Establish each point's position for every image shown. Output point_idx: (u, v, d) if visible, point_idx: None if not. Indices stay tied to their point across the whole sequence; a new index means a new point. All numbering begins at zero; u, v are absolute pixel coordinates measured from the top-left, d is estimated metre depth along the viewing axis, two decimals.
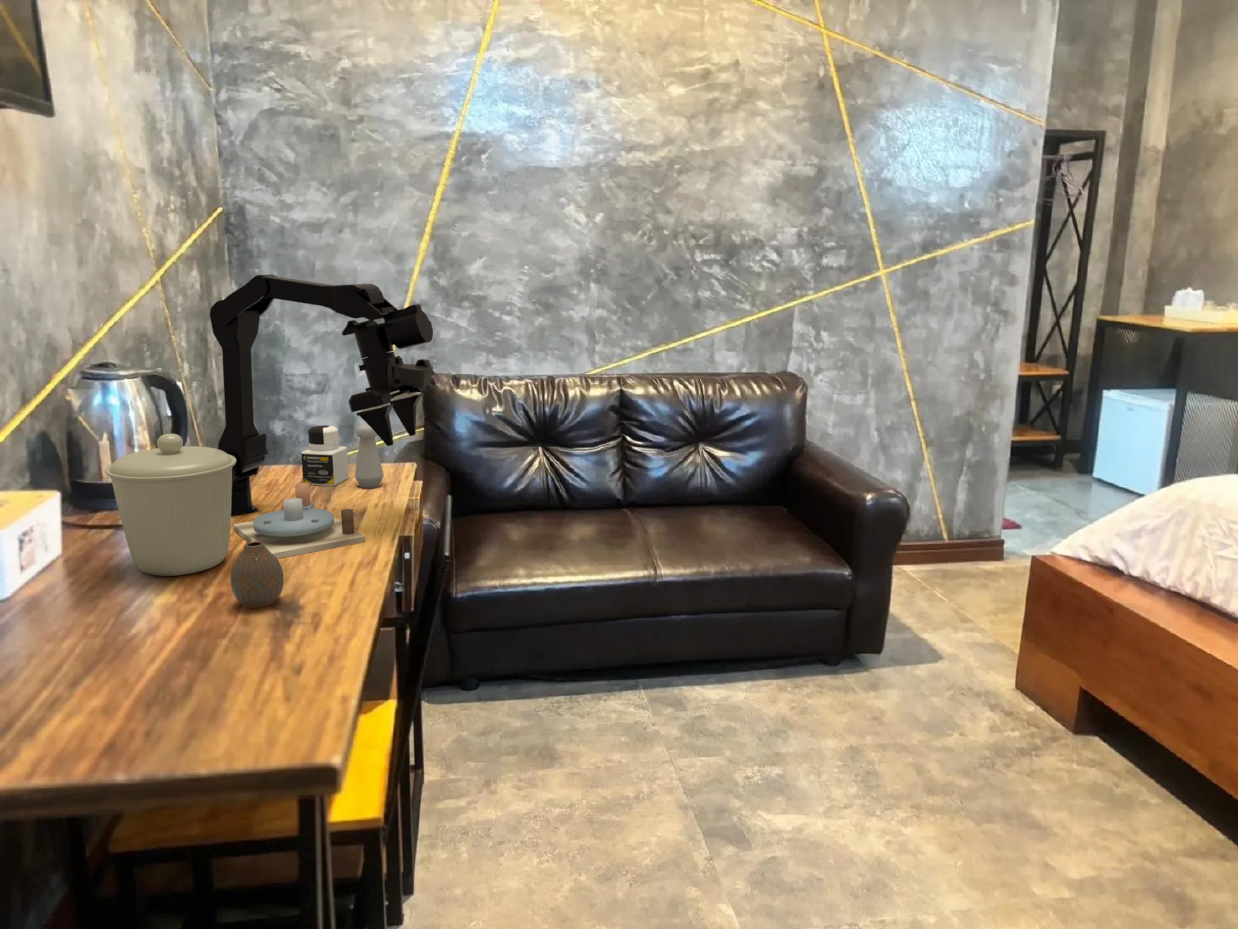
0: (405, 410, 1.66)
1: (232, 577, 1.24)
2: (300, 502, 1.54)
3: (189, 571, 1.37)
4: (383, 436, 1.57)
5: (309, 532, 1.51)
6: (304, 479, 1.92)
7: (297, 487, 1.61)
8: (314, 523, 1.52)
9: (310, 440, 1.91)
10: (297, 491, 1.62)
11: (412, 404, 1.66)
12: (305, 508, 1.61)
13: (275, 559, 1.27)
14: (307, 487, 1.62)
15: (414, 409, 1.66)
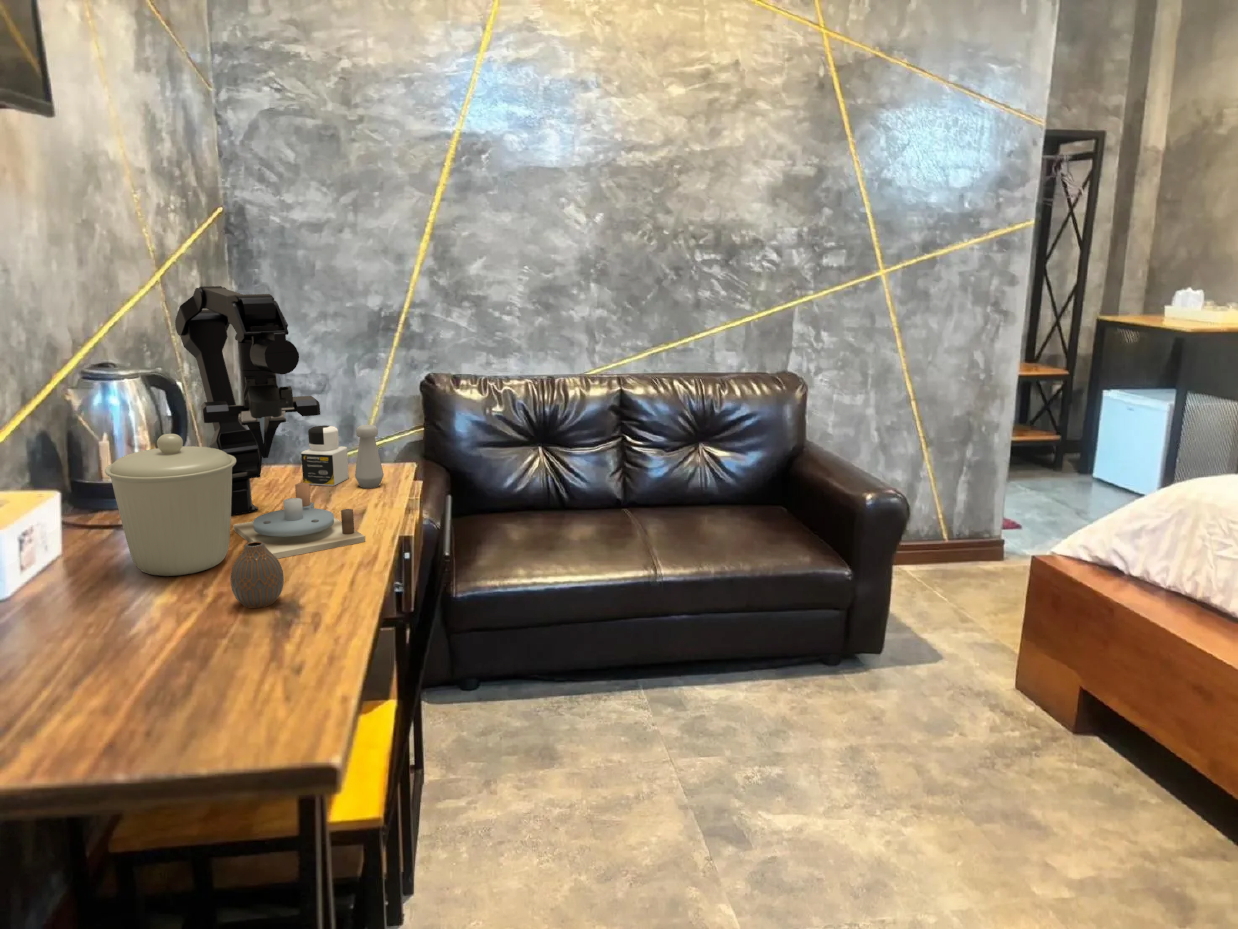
0: (265, 430, 1.58)
1: (232, 577, 1.24)
2: (300, 502, 1.54)
3: (189, 571, 1.37)
4: (258, 447, 1.58)
5: (309, 532, 1.51)
6: (304, 479, 1.92)
7: (297, 487, 1.61)
8: (314, 523, 1.52)
9: (310, 440, 1.91)
10: (297, 491, 1.62)
11: (267, 427, 1.56)
12: (305, 508, 1.61)
13: (275, 559, 1.27)
14: (307, 487, 1.62)
15: (270, 432, 1.57)
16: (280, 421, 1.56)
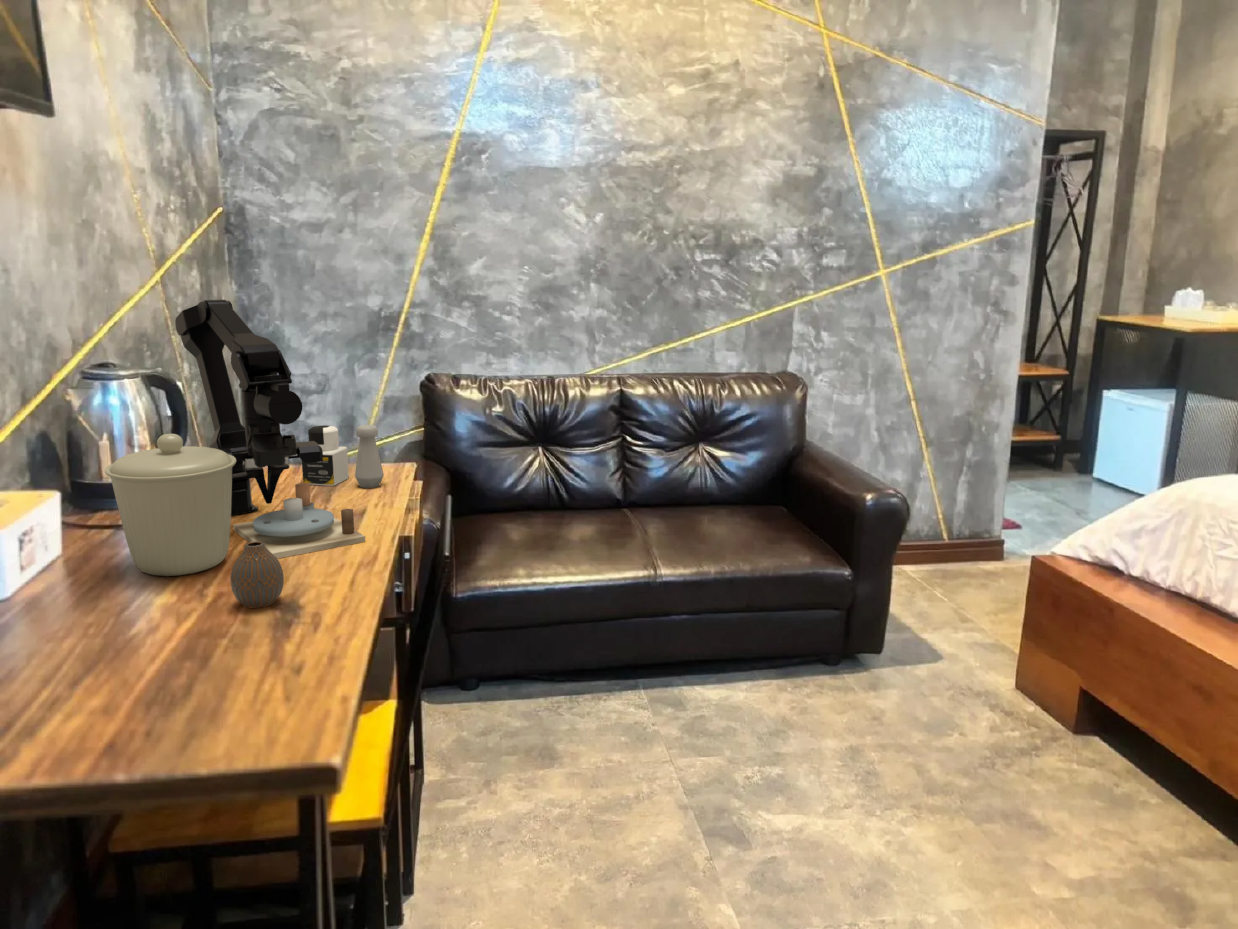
0: (269, 476, 1.60)
1: (232, 577, 1.24)
2: (300, 502, 1.54)
3: (189, 571, 1.37)
4: None
5: (309, 532, 1.51)
6: (304, 479, 1.92)
7: (297, 487, 1.61)
8: (314, 523, 1.52)
9: (310, 440, 1.91)
10: (297, 491, 1.62)
11: (270, 474, 1.58)
12: (305, 508, 1.61)
13: (275, 559, 1.27)
14: (307, 487, 1.62)
15: (273, 479, 1.59)
16: (283, 468, 1.58)
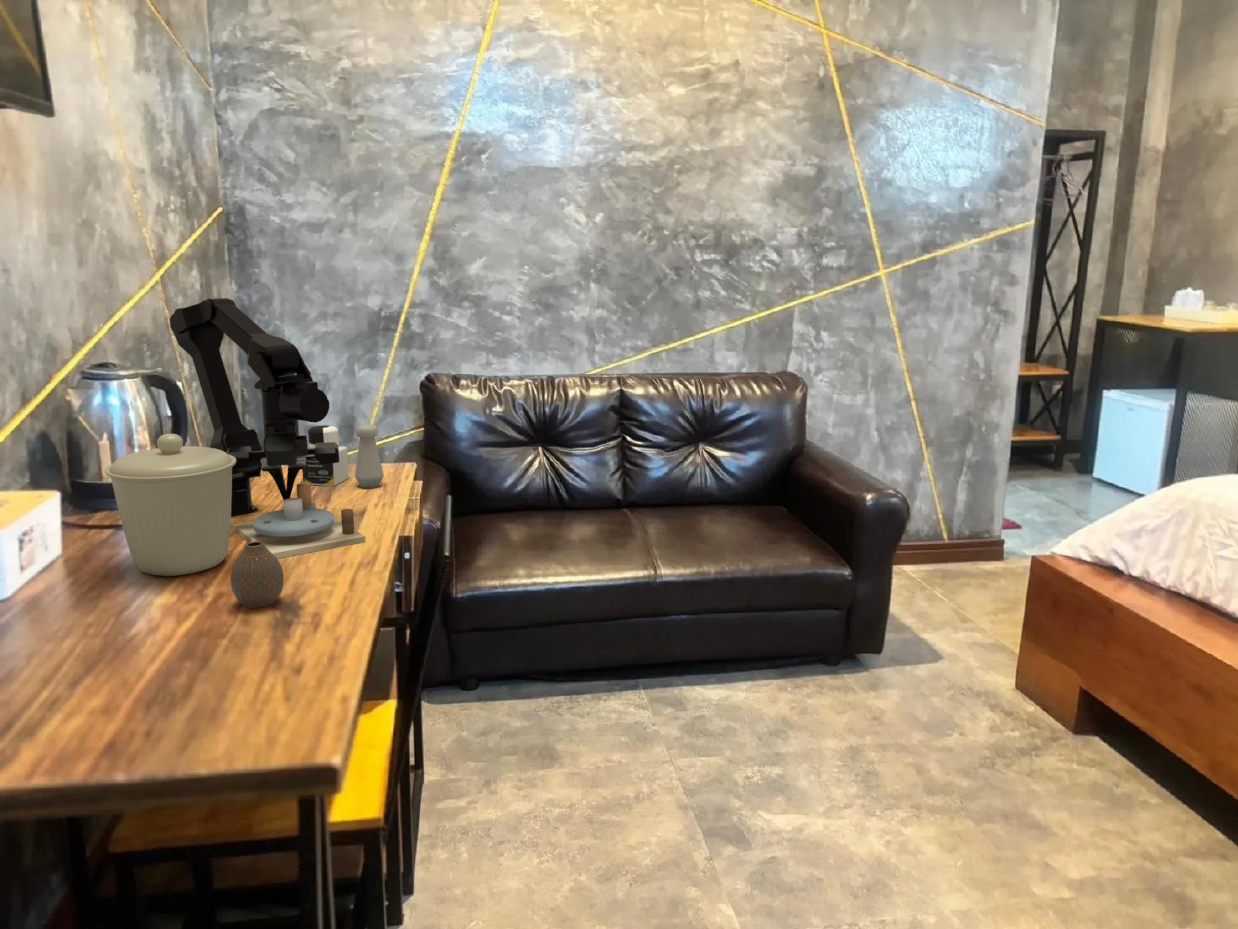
0: None
1: (232, 577, 1.24)
2: (300, 502, 1.54)
3: (189, 571, 1.37)
4: None
5: (308, 532, 1.50)
6: (304, 479, 1.92)
7: (298, 487, 1.61)
8: (313, 523, 1.52)
9: (310, 440, 1.91)
10: (298, 491, 1.62)
11: (287, 473, 1.59)
12: (306, 508, 1.61)
13: (275, 559, 1.27)
14: (308, 487, 1.62)
15: (290, 478, 1.60)
16: (299, 468, 1.58)
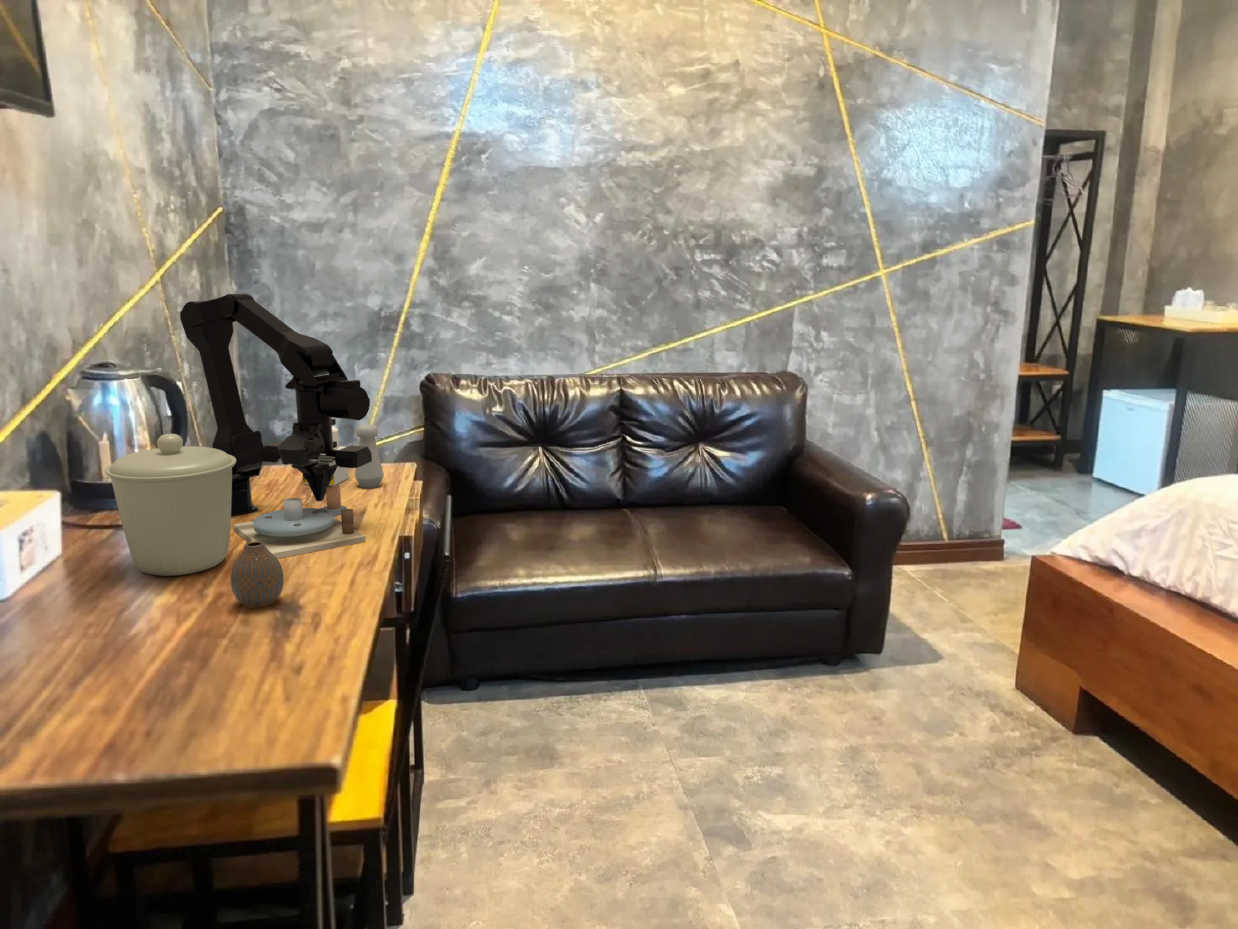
0: None
1: (232, 577, 1.24)
2: (295, 503, 1.53)
3: (189, 571, 1.37)
4: None
5: (279, 535, 1.49)
6: (304, 479, 1.92)
7: (326, 488, 1.61)
8: (291, 527, 1.50)
9: None
10: (326, 492, 1.61)
11: (315, 473, 1.60)
12: (325, 511, 1.60)
13: (275, 559, 1.27)
14: (333, 490, 1.60)
15: (318, 478, 1.60)
16: (321, 469, 1.58)
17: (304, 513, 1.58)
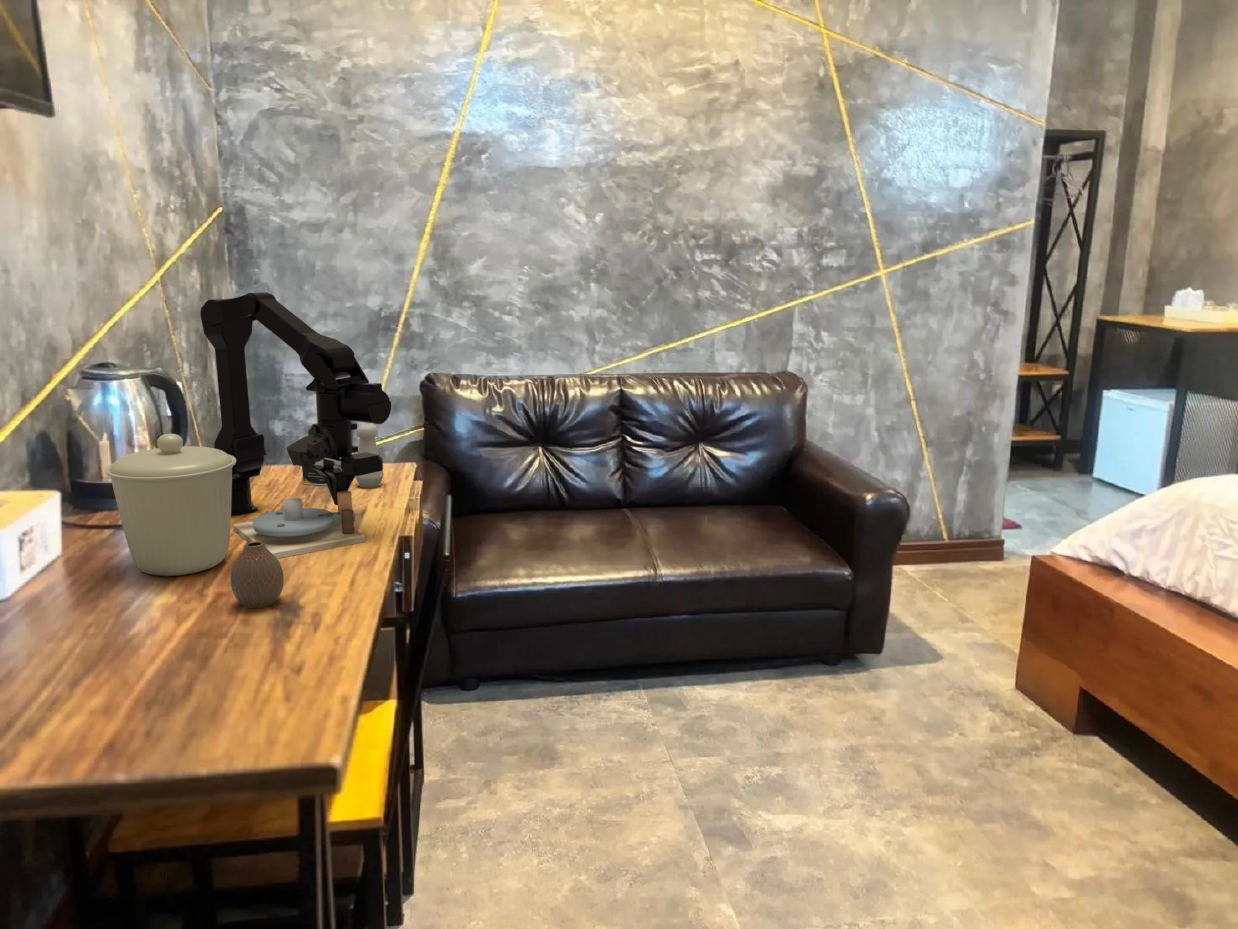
0: None
1: (232, 577, 1.24)
2: (289, 504, 1.53)
3: (189, 571, 1.37)
4: None
5: (260, 532, 1.50)
6: (304, 479, 1.92)
7: None
8: (272, 526, 1.50)
9: None
10: None
11: (331, 476, 1.58)
12: (331, 516, 1.57)
13: (275, 559, 1.27)
14: (341, 496, 1.56)
15: (333, 482, 1.58)
16: (331, 473, 1.55)
17: (311, 515, 1.57)
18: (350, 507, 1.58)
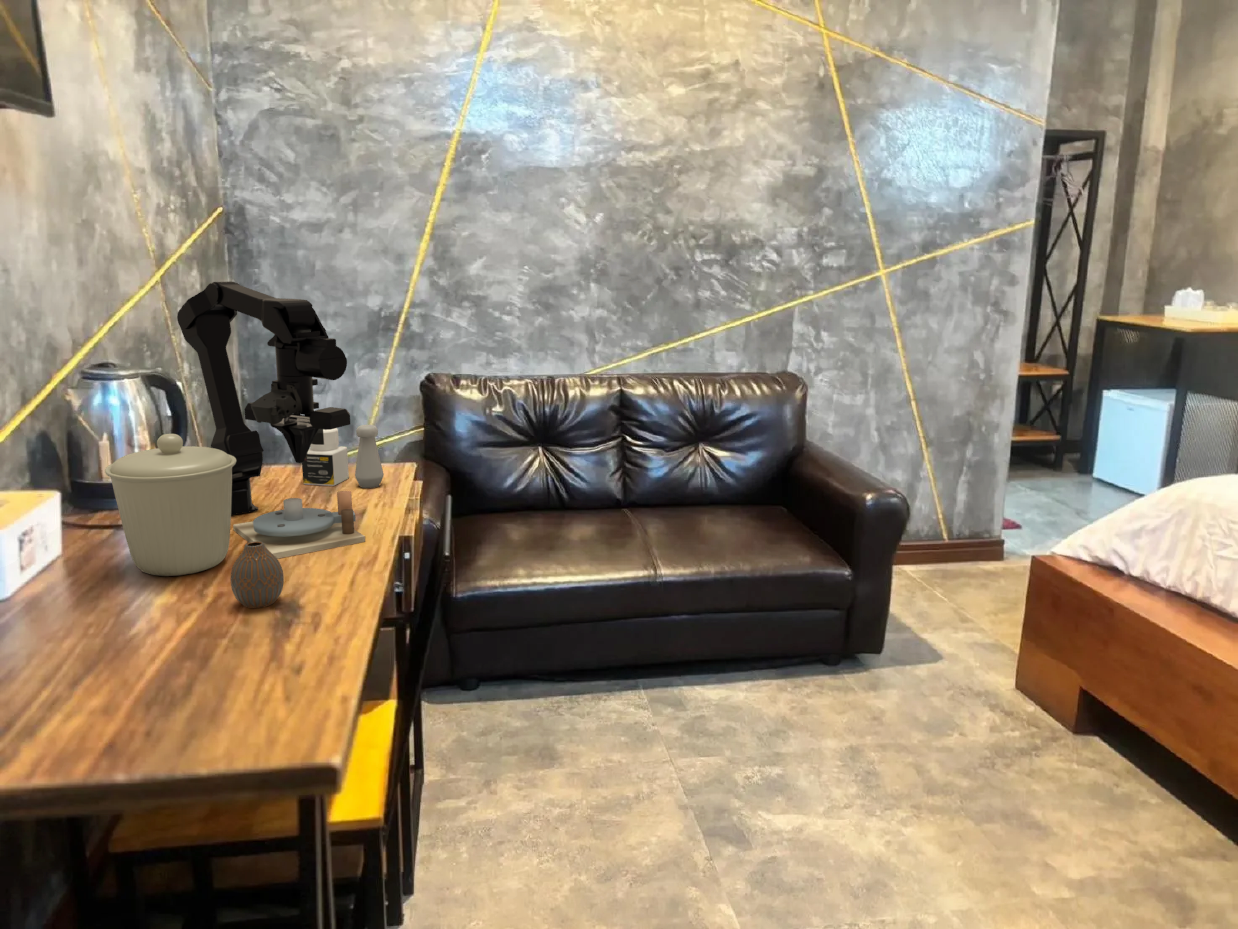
0: None
1: (232, 577, 1.24)
2: (289, 504, 1.53)
3: (189, 571, 1.37)
4: None
5: (260, 532, 1.50)
6: (304, 479, 1.92)
7: None
8: (273, 526, 1.50)
9: None
10: None
11: (294, 433, 1.56)
12: (331, 515, 1.57)
13: (275, 559, 1.27)
14: (341, 496, 1.56)
15: (297, 439, 1.56)
16: (297, 429, 1.54)
17: (311, 515, 1.57)
18: (350, 507, 1.58)
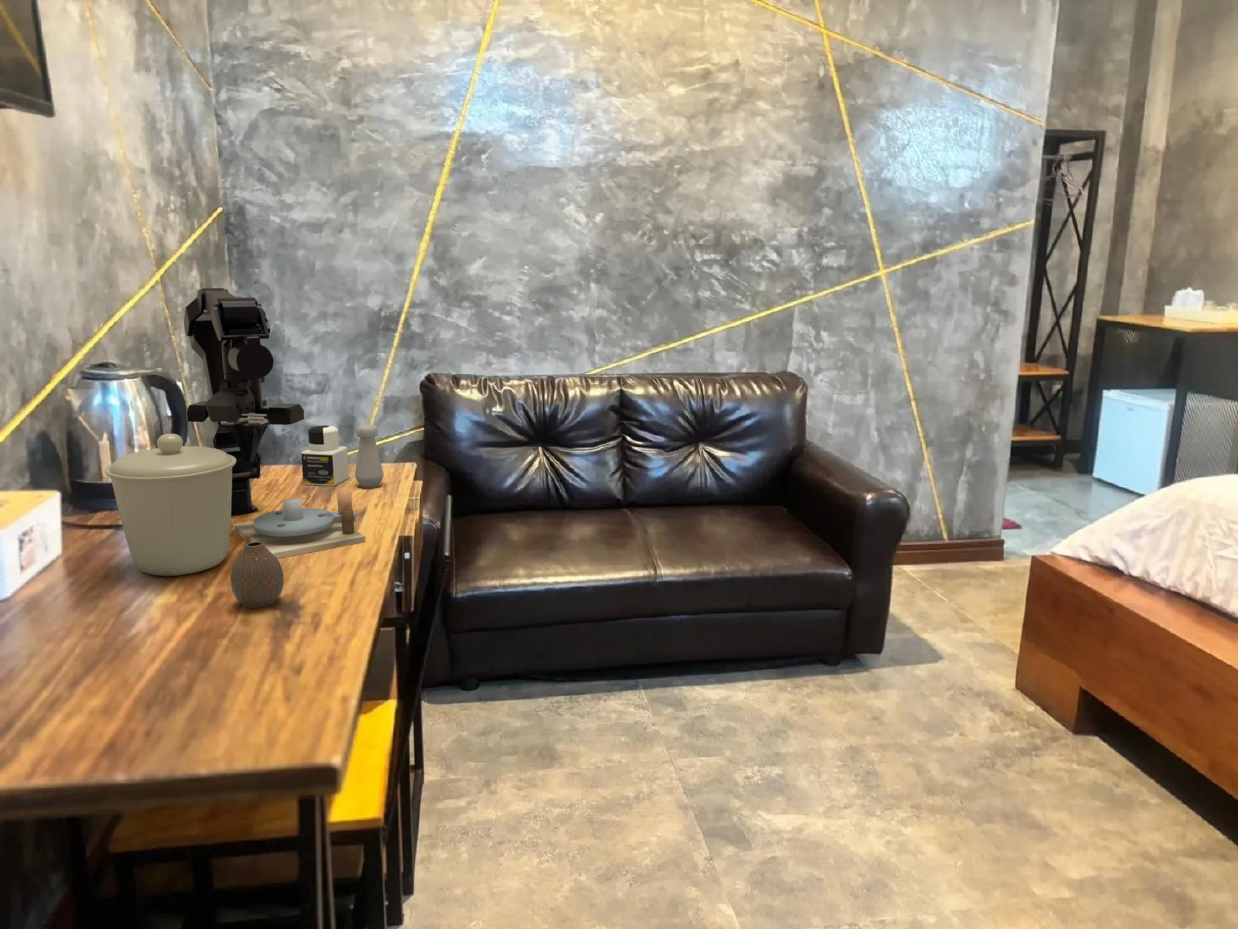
0: None
1: (232, 577, 1.24)
2: (289, 504, 1.53)
3: (189, 571, 1.37)
4: None
5: (260, 532, 1.50)
6: (304, 479, 1.92)
7: None
8: (273, 526, 1.50)
9: (310, 440, 1.91)
10: None
11: (245, 432, 1.55)
12: (331, 515, 1.57)
13: (275, 559, 1.27)
14: (341, 496, 1.56)
15: (249, 437, 1.55)
16: (252, 427, 1.53)
17: (311, 515, 1.57)
18: (350, 507, 1.58)
